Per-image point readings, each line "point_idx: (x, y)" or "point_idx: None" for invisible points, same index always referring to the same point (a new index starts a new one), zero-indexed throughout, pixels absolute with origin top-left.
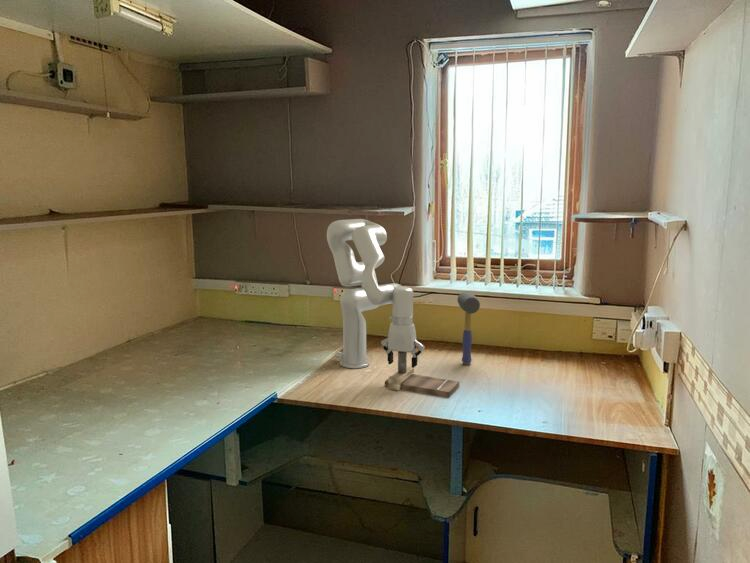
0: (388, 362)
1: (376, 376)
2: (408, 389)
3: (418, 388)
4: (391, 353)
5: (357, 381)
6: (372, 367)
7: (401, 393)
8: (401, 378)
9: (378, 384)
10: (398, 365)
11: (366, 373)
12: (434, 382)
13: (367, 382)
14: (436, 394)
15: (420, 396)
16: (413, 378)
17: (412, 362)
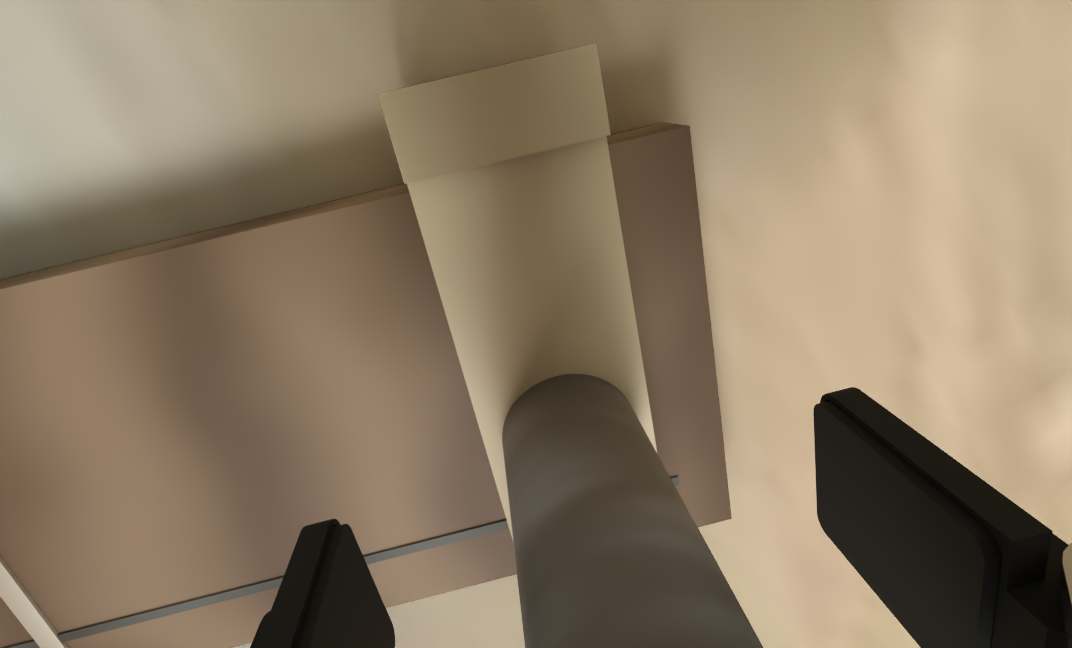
0: (869, 400)
1: (913, 343)
2: (309, 206)
3: (139, 252)
4: (987, 631)
5: (1065, 47)
6: (1051, 510)
7: (312, 46)
8: (423, 230)
9: (772, 137)
10: (637, 450)
11: (1052, 345)
12: (115, 528)
13: (931, 104)
14: None
15: (22, 125)
16: (428, 470)
17: (289, 610)
